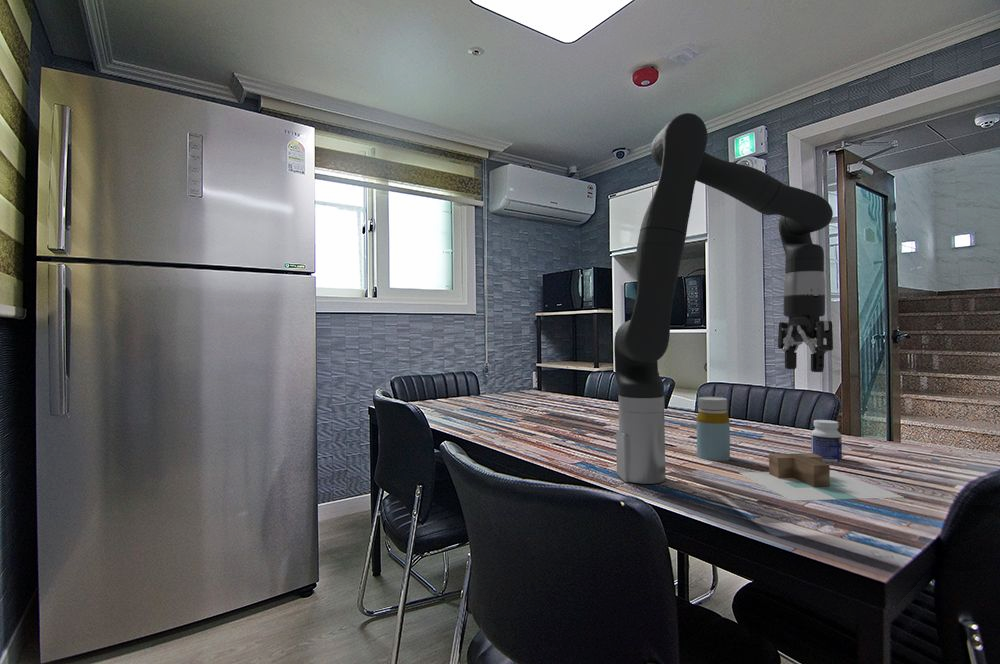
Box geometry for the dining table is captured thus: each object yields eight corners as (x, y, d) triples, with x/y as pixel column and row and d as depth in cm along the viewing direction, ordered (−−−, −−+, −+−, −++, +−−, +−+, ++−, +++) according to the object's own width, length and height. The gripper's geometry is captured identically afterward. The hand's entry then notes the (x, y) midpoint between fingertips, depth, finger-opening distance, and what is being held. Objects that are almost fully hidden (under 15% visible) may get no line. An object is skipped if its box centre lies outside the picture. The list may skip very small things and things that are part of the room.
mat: (791, 509, 84) (791, 500, 84) (738, 479, 101) (738, 472, 101) (904, 506, 85) (904, 497, 85) (833, 477, 102) (833, 470, 102)
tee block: (798, 487, 91) (797, 465, 91) (769, 474, 100) (769, 454, 100) (845, 486, 91) (845, 464, 91) (812, 472, 100) (812, 453, 100)
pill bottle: (847, 469, 107) (846, 423, 108) (818, 468, 109) (817, 423, 109) (834, 462, 113) (834, 419, 113) (807, 461, 114) (806, 418, 114)
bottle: (730, 461, 116) (729, 397, 116) (730, 468, 109) (729, 400, 109) (698, 458, 118) (697, 395, 119) (696, 465, 112) (695, 399, 112)
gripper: (767, 296, 112) (766, 368, 112) (809, 291, 98) (808, 372, 98) (799, 297, 112) (798, 368, 112) (845, 291, 98) (845, 373, 98)
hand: (803, 370), depth 105 cm, fingers open, 8 cm apart
